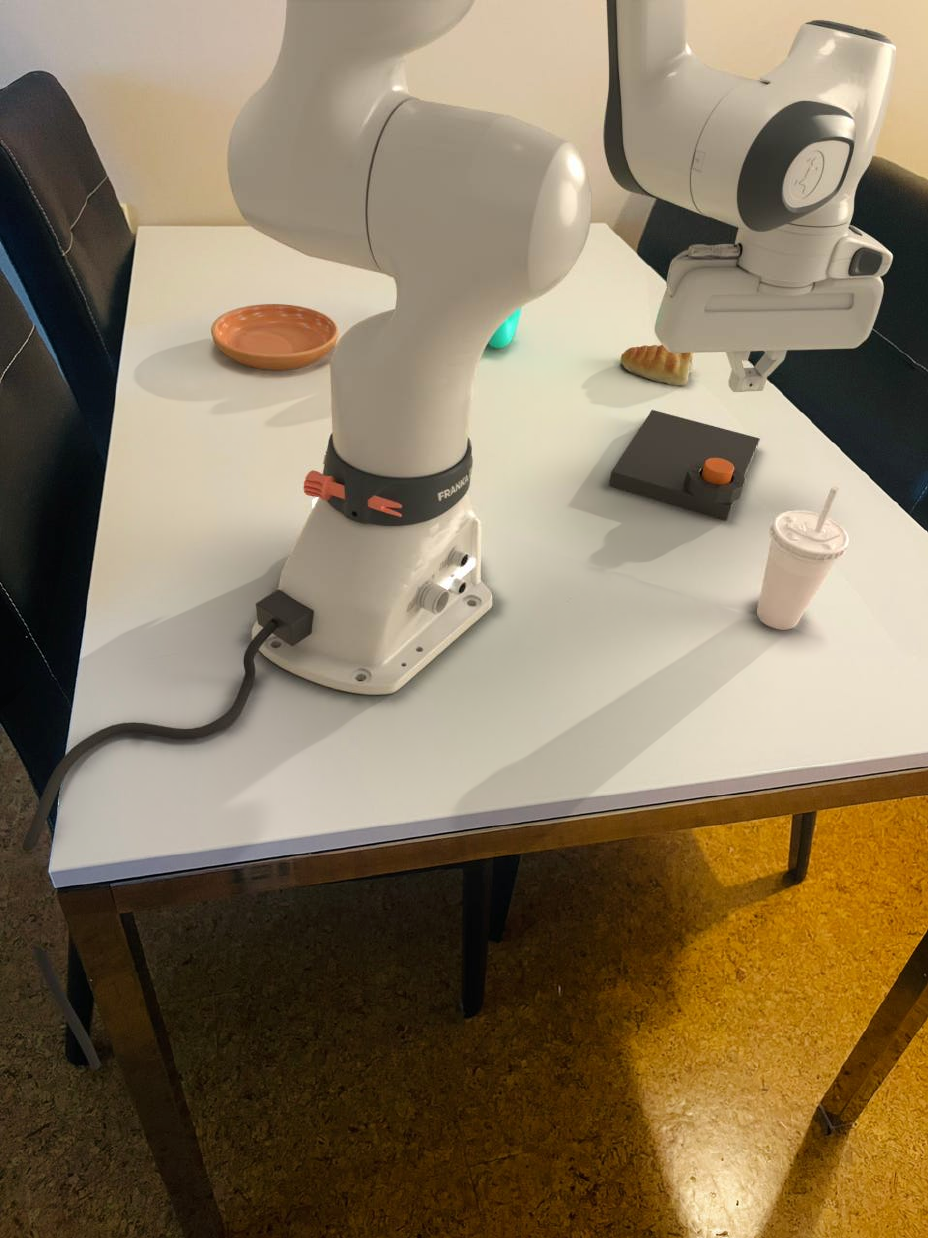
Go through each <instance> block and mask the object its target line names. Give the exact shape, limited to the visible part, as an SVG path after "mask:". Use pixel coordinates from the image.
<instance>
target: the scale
mask: <svg viewBox="0 0 928 1238" xmlns="http://www.w3.org/2000/svg"><path fill="white" fill-rule="evenodd" d="M760 440H761V438H760V437H756V436H752V435H748V434H744V433H741V432H738V431H734V430H730V429H726V428H722V427H720V426H714V425H712V424H707V423H704V422H699V421H696V420H693V419H688V418H685V417H680V416H678V415H674V414H670V413H666V412H662V411H659V410H655V409H651V411H649V413H648V415H647V417H646V418H645V420H643V422H642V424H641V426H640V427H639V429H638V430H637V432H636V433H635V435H634V436H633V438H632V439H631V441H630V442H629V444H628V446H627V447H626V449H625V450H624V452H623V453H622V455H621V456H620V457H619V459H618V461H617V462H616V464H615V465H614V466H613V468H612V470H611V471H610V477H609V482H608V487H611V488H614V489H618V490H621V491H625V492H627V493H631V494H635V495H638V496H642V497H645V498H647V499H648V498H649V499H651V500H655V501H658V502H662V503H664V504H665V503H666V504H668V505H672V506H675V507H679V508H683V509H685V510H688V511H692V512H696V513H699V514H702V515H705V516H709V517H713V518H715V519H719V520H722V521H728V519H729V517H730V515H731V512H732V510H733V507H734V505H735V503H736V501H739V499H740V498H741V495H742V493H743V491H744V487H745V485H746V484H745V483H746V482H747V479H746V477H747V474H748V471H749V469H750V466H751V465H752V462H753V460H754V457H755V455H756V452H757V450H758V446H759V444H760ZM710 458H721V459H725V460H727V461H729V462H731V463H732V464H733V466H734V471H733V474H732V477H731V480H730V483H729V484H726V485H724V484H714V483H710V482H708V481H706V480H705V479H703V478H702V472H703V468H704V464H705V461H706V460H708V459H710Z"/></svg>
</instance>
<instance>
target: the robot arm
mask: <svg viewBox="0 0 928 1238" xmlns="http://www.w3.org/2000/svg"><path fill="white" fill-rule="evenodd" d="M475 1H476V0H286V8H285V22H284V30H283V35H282V41H281V46H280V50H279V53H278V55H277V59H276V62H275V64H274V66H273V69H272V71H271V73H270V74H269V77H268V78H267V80H266V81H265V82H264V83H263V84H262V85H261V86H260V88H258V89H257V90H256V91H255V92H254V93H253V94H252V95H251V96H250V97H249V98H248V99H247V100H246V102H245V103H244V105H243V106H242V107H241V110H240V111H239V113H238V115H237V117H236V119H235V121H234V122H233V126H232V128H231V131H230V136H229V140H228V146H227V163H226V164H227V175H228V182H229V186H230V190H231V193H232V194H231V195H232V196H233V199H234V202H235V205H236V207H237V208H238V210H239V213H240V214H241V216H242V218H243V219H244V221H245V222H246V224H248V225H249V227H251V228H252V229H253V230H255V231H257V232H259V233H260V234H262V235H264V236H266V237H268V238H270V239H272V240H274V241H276V242H278V243H279V244H282V245H284V246H286V247H288V248H290V249H292V250H294V251H297V252H299V253H301V254H302V255H305V256H307V257H311V258H316V259H319V260H322V261H323V260H324V261H327V262H332V263H335V264H340V265H345V266H347V267H348V266H349V267H353V268H357V269H362V270H366V271H370V272H374V273H379V274H383V275H385V276H388V277H390V278H393V280H394V283H395V288H396V298H395V300H396V301H395V307H394V308H393V309H389V310H386V311H382V312H379V313H377V314H374V315H371V316H369V317H366V318H364V319H362V320H360V321H359V322H356V323H355V324H353V325H352V326H351V327H350V328H348V329H347V330H346V331H345V332H344V334H342V336H341V337H340V339H339V340H338V341H337V342H336V344H335V347H334V350H333V352H332V355H331V358H330V362H329V375H330V376H329V377H330V400H331V401H330V402H331V403H330V405H331V430H332V432H331V434H330V435H329V438H328V442H327V448H326V451H325V454H324V457H323V461H322V464H323V470H322V473H321V472H320V471H317V470H310V471H309V472H308V473H307V474H306V475H305V478H304V481H303V492H304V493H303V494H305V495H307V496H308V497H309V496H310V497H313V499H312V500H311V502H312V503H311V504H312V509H311V511H310V513H309V514H308V517H307V518H306V521H305V522H304V524H303V527H302V529H301V531H300V533H299V534H298V537H297V539H296V541H295V543H294V545H293V547H292V549H291V551H290V554H289V555H288V558H287V559H286V561H285V563H284V566H283V568H282V570H281V573H280V577H279V582H278V583H279V584H278V586H277V589H276V590H275V591H273V592H271V593H270V594H268V595H267V596H264V598H262V599H260V600H258V601H257V602H256V603H255V610H256V618H257V620H256V621H255V623H254V625H253V626H252V629H251V641H250V642H249V644H248V646H247V648H246V650H245V652H244V655H243V660H242V661H243V663H242V664H243V669H244V676H243V679H242V681H241V685H240V688H239V691H238V694H237V696H236V698H235V700H234V702H233V704H232V705H231V707H230V708H229V709H228V710H227V712H225V713H224V714H223V715H221V716H220V717H218V718H217V719H216V720H214V721H212V722H210V723H207V724H204V725H202V726H198V727H193V728H179V727H178V728H177V727H170V726H164V725H158V724H153V723H148V722H147V723H146V722H121V723H116V724H111V725H109V726H107V727H105V728H102V729H100V730H98V731H97V732H94V733H92V734H90V735H89V736H88V737H86V738H85V739H83V740H81V741H80V742H79V743H77V744H76V745H74V747H72V748H71V749H70V750H69V751H68V752H67V753H66V754H65V755H64V756H63V757H62V759H61V760H60V761H59V763H58V764H57V765H56V767H55V768H54V769H53V772H52V774H51V775H50V777H49V779H48V782H47V784H46V786H45V789H44V790H43V793H42V795H41V798H40V801H39V803H38V805H37V808H36V810H35V813H34V814H33V818H32V819H31V822H30V826H29V827H28V830H27V833H26V835H25V837H24V841H23V844H22V850H23V851H25V852H28V851H29V852H30V851H32V850H33V849H34V848H35V847H37V845H38V843H39V840H40V837H41V835H42V832H43V830H44V827H45V824H46V822H47V819H48V818H49V817H48V816H49V814H50V812H51V809H52V806H53V805H54V801H55V799H56V797H57V794H58V792H59V789H60V788H61V785H62V783H63V781H64V779H65V778H66V776H67V774H68V772H69V771H70V769H71V768H72V767H73V765H74V764H75V763H76V762H77V761H78V760H79V759H80V758H81V757H82V756H83V755H84V754H85V753H87V752H88V751H89V750H91V749H93V748H94V747H96V746H97V745H99V744H101V743H102V742H105V741H107V740H108V739H111V738H113V737H116V736H120V735H126V734H128V735H129V734H138V735H145V736H152V737H159V738H165V739H169V740H170V739H171V740H180V741H184V740H185V741H188V740H198V739H203V738H206V737H208V736H211V735H213V734H216V733H218V732H219V731H221V730H223V729H225V728H226V727H228V726H229V725H231V724H232V723H233V722H234V721H235V720H236V719H237V718H238V717H239V715H240V714H241V712H242V710H243V709H244V707H245V705H246V703H247V700H248V698H249V696H250V693H251V689H252V686H253V684H254V679H255V677H256V666H255V665H256V664H255V658H256V655H257V653H258V651H259V652H260V653H261V654H262V655H263V656H264V657H265V658H267V659H268V660H269V661H271V662H272V663H274V664H275V665H277V666H278V667H280V668H282V669H284V670H286V671H288V672H289V673H291V674H293V675H296V676H299V677H301V678H303V679H305V680H308V681H310V682H313V683H316V684H318V685H321V686H323V687H327V688H331V689H335V690H337V691H341V692H342V691H343V692H347V693H352V694H358V695H359V694H360V695H373V696H374V695H375V696H376V695H390V694H394V693H396V692H397V691H399V690H400V689H401V688H402V687H404V686H405V685H406V684H407V683H408V682H409V681H411V680H412V679H413V678H414V677H415V676H416V675H417V674H418V673H419V672H421V671H422V670H423V669H424V668H426V667H427V666H428V665H429V664H430V663H431V662H433V660H434V659H435V658H436V657H438V656H439V655H440V654H441V653H442V652H443V651H445V649H447V648H448V647H449V646H451V644H452V643H453V642H454V641H456V640H457V639H458V638H460V636H461V635H462V634H464V633H465V632H466V631H467V630H468V629H470V628H471V627H472V626H473V625H474V624H475V623H476V622H477V621H478V620H480V619H481V618H482V617H483V616H484V615H485V614H487V612H488V611H490V610H491V609H492V608H493V593H492V591H491V590H490V589H489V587H488V586H487V585H486V584H485V583H484V582H483V581H482V579H481V577H482V575H481V571H482V570H481V568H482V566H481V565H482V523H481V521H480V518H479V515H478V514H477V513H476V510H475V509H474V506H473V504H472V501H471V500H470V496H469V493H468V491H469V489H470V485H471V477H472V472H473V462H474V461H473V459H474V458H473V446H472V441H471V439H470V437H469V428H470V421H471V420H470V419H471V411H472V402H473V395H474V389H475V383H476V378H477V372H478V368H479V365H480V361H481V358H482V356H483V354H484V351H485V350H486V347H487V346H488V345H489V343H488V342H489V340H490V338H491V337H492V335H493V334H494V333H495V331H496V330H497V329H498V328H499V326H500V325H501V324H502V323H503V322H504V321H505V320H506V319H507V318H508V317H509V316H511V315H512V314H513V313H514V312H515V311H517V310H518V309H519V308H521V309H522V307H524V306H525V305H527V304H529V303H530V302H532V301H535V300H537V299H539V298H541V297H543V296H545V295H546V294H548V293H549V292H551V291H552V290H553V289H554V288H556V287H557V286H558V285H559V284H560V283H561V282H562V281H563V280H565V278H566V277H567V276H568V275H569V273H570V272H571V270H572V269H573V268H574V267H575V265H576V264H577V262H578V260H579V258H580V256H581V255H582V252H583V250H584V247H585V245H586V242H587V239H588V235H589V233H590V227H591V223H592V215H593V197H592V195H593V194H592V187H591V182H590V178H589V175H588V171H587V169H586V166H585V163H584V161H583V158H582V157H581V155H580V153H579V151H578V150H577V148H576V146H575V145H574V143H572V142H571V141H569V140H567V139H565V138H563V137H560V136H558V135H556V134H554V133H552V132H550V131H547V130H545V129H544V128H541V127H539V126H536V125H534V124H531V123H529V122H526V121H524V120H522V119H519V118H516V117H514V116H512V115H508V114H503V113H499V112H498V113H497V112H491V111H487V110H482V109H481V110H480V109H474V108H469V107H464V106H458V105H453V104H452V105H451V104H445V103H441V102H436V101H435V102H433V101H428V100H425V99H420V98H418V97H416V96H412V95H411V93H410V91H409V87H408V84H407V78H406V63H407V55H409V54H412V53H414V52H416V51H418V50H420V49H422V48H425V47H426V46H429V45H430V44H432V43H434V42H435V41H437V40H438V39H440V38H442V37H443V36H446V35H447V34H448V33H449V32H451V31H452V30H453V29H454V28H456V27H457V26H458V25H459V24H460V23H461V22H462V21H463V19H465V17H466V16H467V15H468V14H469V12H470V10H471V9H472V7H473V5H474V4H475ZM687 17H688V0H606V20H607V23H606V24H607V26H606V27H607V49H608V50H607V52H608V91H607V99H606V106H605V114H604V121H603V132H602V133H603V134H602V136H603V139H602V140H603V150H604V155H605V159H606V163H607V167H608V169H609V172H610V174H611V176H612V178H613V179H614V181H615V183H617V185H618V186H620V187H621V188H622V189H623V190H625V191H627V192H630V193H633V194H637V195H640V196H641V195H642V196H645V197H649V198H653V199H657V200H661V201H666V202H669V203H671V204H673V205H676V206H678V207H681V208H684V209H686V210H689V211H691V212H694V213H696V214H699V215H701V216H704V217H707V218H712V219H714V220H717V221H719V222H722V223H724V224H727V225H730V226H733V227H736V228H738V230H737V232H736V238H735V240H734V243H722V244H721V243H720V244H715V245H714V244H713V245H707V244H704V243H698V244H697V243H696V244H692V245H690V246H689V247H688V249H685V250H683V251H681V252H679V253H678V254H677V255H675V257H673V259H671V262H670V264H669V268H668V272H667V277H666V289H665V290H664V294H663V296H662V300H661V302H660V305H659V308H658V312H657V315H656V320H655V323H654V333H655V336H656V337H657V339H658V341H659V342H660V345H663V346H664V347H665V348H666V349H667V351H669V352H670V353H693V354H697V353H702V354H703V353H726V358H727V359H728V363H729V366H730V369H731V372H730V375H729V378H728V387H729V389H730V390H731V392H732V393H743V392H744V393H745V392H746V393H747V392H762V391H763V390H764V389H765V385H766V383H767V379H768V377H769V376H770V375H772V373H773V372H774V371H775V370H776V369H777V368H778V367H779V365H781V364H782V363H783V362H784V361H785V359H786V355H787V353H788V351H806V350H807V351H809V350H812V351H813V350H838V349H839V350H846V349H847V350H848V349H851V350H852V349H856V348H858V347H859V346H861V345H862V344H863V343H864V342H865V341H867V339H868V338H869V337H870V335H871V332H872V330H873V327H874V324H875V322H876V320H877V317H878V314H879V311H880V307H881V304H882V300H883V295H884V289H885V287H884V282H883V279H882V278H881V277H883V276H884V275H886V274H887V273H888V272H889V269H890V268H891V265H892V263H893V259H894V255H893V253H892V252H891V251H890V250H888V248H886V247H885V246H884V245H883V243H880V242H879V241H878V240H876V238H874V237H872V236H871V235H869V234H868V233H866V232H865V231H863V230H861V229H859V228H858V227H856V226H854V225H851V221H852V218H853V215H854V211H855V209H854V208H855V197H856V192H857V188H858V185H859V183H860V181H861V179H862V177H863V176H864V174H865V172H866V171H867V169H868V168H869V166H870V164H871V161H872V158H873V156H874V153H875V149H876V147H877V144H878V140H879V138H880V133H881V131H882V128H883V124H884V120H885V117H886V114H887V110H888V106H889V102H890V97H891V92H892V88H893V84H894V78H895V72H896V65H897V64H896V63H897V48H896V46H895V45H894V43H893V42H892V41H891V39H890V38H889V37H888V36H886V35H884V34H882V33H879V32H877V31H874V30H870V29H867V28H864V29H863V28H860V27H856V26H854V25H849V24H846V23H845V24H844V23H841V22H835V21H831V20H824V19H814V20H810V21H808V22H804V23H802V24H801V26H800V27H799V29H798V31H797V33H796V34H795V37H794V39H793V40H792V41H793V42H792V44H791V45H790V48H789V50H788V53H787V57H786V58H785V59H784V60H783V61H782V62H781V63H780V64H779V65H777V67H775V68H774V69H772V70H771V71H769V72H768V73H766V74H764V75H761V76H759V79H752V78H749V77H744V76H741V75H738V74H733V73H731V72H727V71H724V70H720V69H716V68H713V67H710V66H709V65H707V64H706V63H704V62H703V61H702V60H700V59H699V57H697V56H696V55H695V54H694V52H693V51H692V49H691V48H690V46H689V43H688V41H687V22H688V21H687ZM751 352H764V354H763V355H762V356H761V357H760V359H759V360H758V361H757V363H756V364H755V365H754V366H753V367H744V363H743V362H745V361H748V360H749V359H750V356H751ZM31 947H32V950H33V954H34V957H35V960H36V962H37V966H38V968H39V970H40V973H41V975H42V977H43V980H44V982H45V984H46V986H47V989H48V991H49V992H50V994H51V996H52V998H53V1000H54V1001H55V1003H56V1005H57V1007H58V1008H59V1010H60V1012H61V1014H62V1015H63V1017H64V1019H65V1021H66V1022H67V1024H68V1026H69V1027H70V1029H71V1031H72V1032H73V1034H74V1036H75V1038H76V1040H77V1043H79V1046H80V1047H81V1049H82V1051H83V1054H84V1056H85V1057H86V1059H87V1061H88V1064H89V1066H90V1069H91V1071H98V1070H99V1068H101V1065H102V1063H101V1061H100V1059H99V1057H98V1054H97V1051H96V1049H95V1047H94V1045H93V1043H92V1041H91V1039H90V1037H89V1034H88V1033H87V1031H86V1029H85V1028H84V1025H83V1024H82V1022H81V1020H80V1018H79V1017H78V1015H77V1013H76V1011H75V1009H74V1008H73V1006H72V1005H71V1002H70V1001H69V999H68V997H67V996H66V993H65V992H64V989H63V987H62V986H61V983H60V982H59V979H58V978H57V974H56V973H55V970H54V969H53V965H52V963H51V959H50V956H49V954H48V951H47V950H44V949H43V948H41V947H39V946H37V945H35V944H34V943H31Z"/></svg>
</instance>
